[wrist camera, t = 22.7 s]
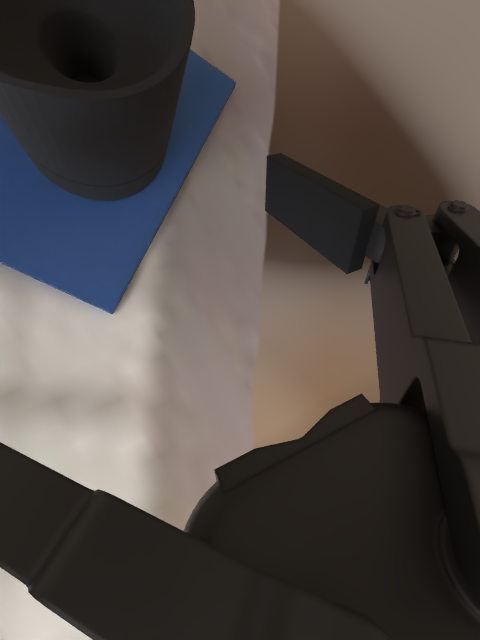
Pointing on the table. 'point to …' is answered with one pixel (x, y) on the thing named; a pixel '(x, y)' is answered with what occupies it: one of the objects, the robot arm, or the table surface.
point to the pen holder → (94, 88)
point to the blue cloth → (100, 204)
